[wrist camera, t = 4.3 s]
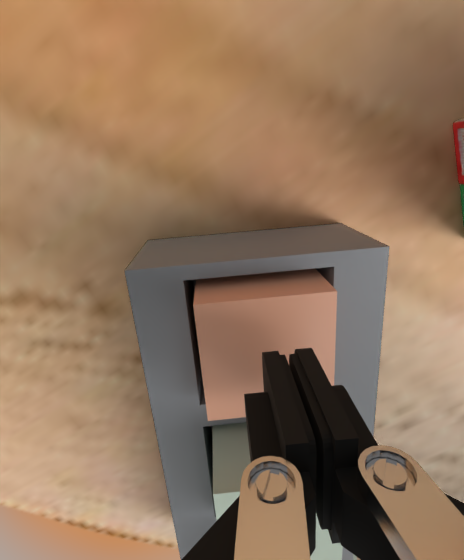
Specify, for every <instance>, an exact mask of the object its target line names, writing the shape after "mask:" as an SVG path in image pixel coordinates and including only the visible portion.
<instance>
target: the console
mask: <svg viewBox="0 0 464 560" xmlns="http://www.w3.org/2000/svg"><path fill="white" fill-rule="evenodd" d="M388 256H389V246H387V245H385V244H383V243H381V242H379V241H377V240H375V239H373V238H371V237H369V236H367V235H365V234H362V233H360V232H358V231H356V230H354V229H352V228H350V227H348V226H346V225H344V224H342V223H337V224H326V225H315V226H303V227H292V228H281V229H269V230H258V231H247V232H235V233H224V234H213V235H202V236H190V237H179V238H168V239H156V240H148V241H147V242H146V243H145V245H144V246H143V247H142V249H141V250H140V251H139V252H138V254H137V255H136V256H135V258H134V259H133V260H132V262H131V263H130V264H129V265H128V267H127V268H126V269H125V276H126V281H127V286H128V291H129V296H130V302H131V307H132V312H133V317H134V322H135V327H136V332H137V337H138V343H139V348H140V353H141V358H142V363H143V368H144V373H145V379H146V384H147V389H148V394H149V399H150V404H151V409H152V414H153V420H154V425H155V430H156V435H157V440H158V445H159V450H160V455H161V461H162V466H163V471H164V476H165V481H166V486H167V491H168V496H169V502H170V507H171V512H172V517H173V522H174V527H175V532H176V537H177V543H178V548H179V553H180V558H181V560H182V559H183V557H184V556H185V555H186V554H187V553H188V552H189V551H190V550H191V549H192V547H193V546H194V545H195V544H196V543H197V542H198V541H199V540H200V539H201V538H202V536H203V535H204V534H205V533H206V532H207V531H208V530H209V529H210V528H211V527H212V525H213V524H214V523H215V522H216V513H215V505H214V498H213V431H212V426H214V425H224V424H233V423H242V422H246V417H241V418H232V419H223V420H213V421H208V418H207V410H206V402H205V394H204V386H203V379H202V371H201V363H200V355H199V347H198V339H197V331H196V323H195V315H194V307H193V302H194V293H195V285H196V279H206V278H217V277H228V276H238V275H249V274H260V273H271V272H282V271H292V270H303V269H314V268H315V269H316V270H317V271H318V272H319V273H320V274H321V275H322V276H323V277H324V278H325V279H326V280H327V281H328V282H329V283H330V284H331V285H332V286H333V287H334V288H335V289H336V290H337V312H336V344H335V375H334V385H343V386H344V387H345V389H346V390H347V392H348V394H349V396H350V397H351V399H352V401H353V403H354V404H355V406H356V408H357V409H358V411H359V413H360V415H361V416H362V418H363V420H364V422H365V423H366V425H367V427H368V429H369V430H370V432H371V434H372V436H373V433H374V421H375V410H376V398H377V386H378V374H379V362H380V350H381V339H382V327H383V315H384V303H385V291H386V279H387V268H388ZM342 560H354V559H353V554H352V553H351V552H350V551H348V550H347V549H345V548H344V547H343V550H342Z"/></svg>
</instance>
